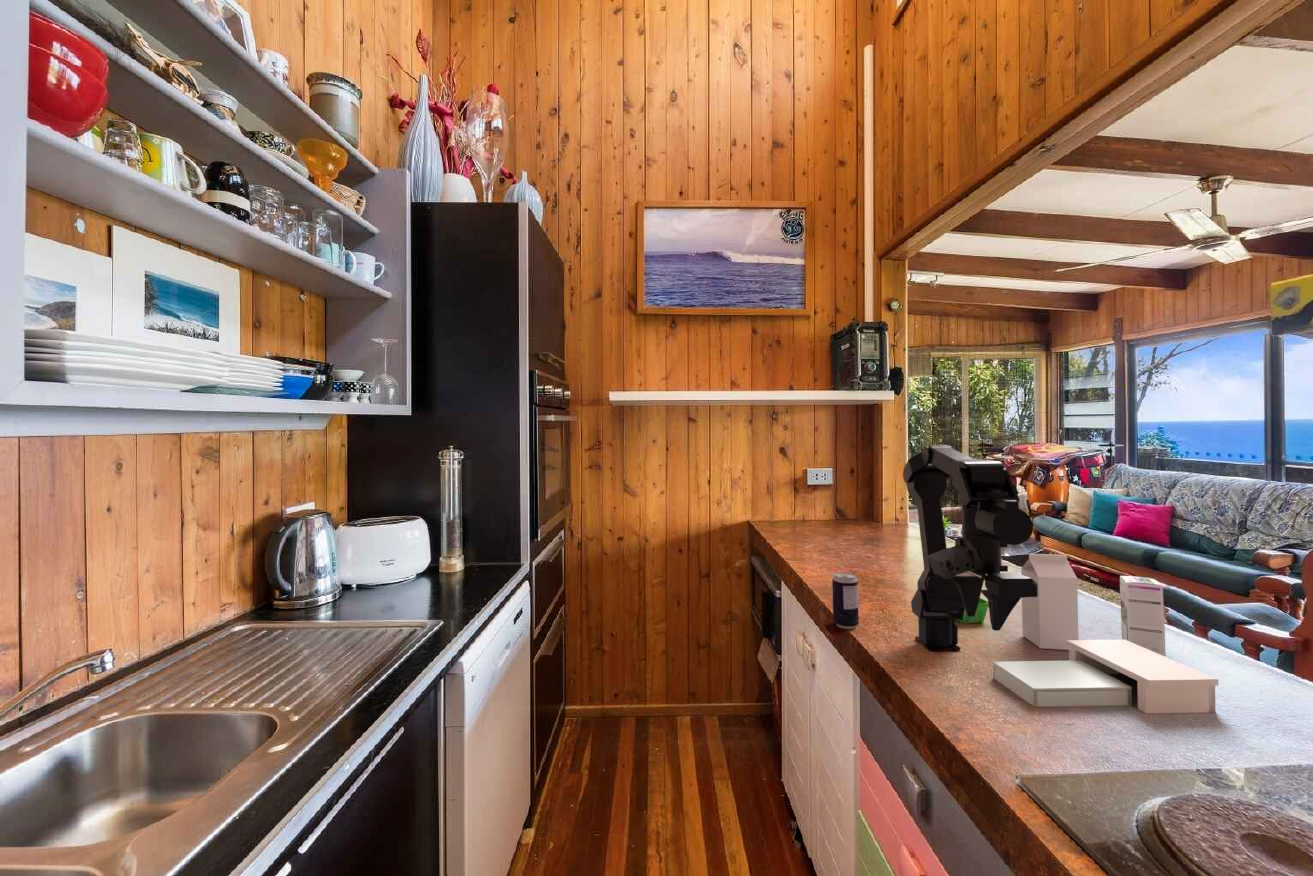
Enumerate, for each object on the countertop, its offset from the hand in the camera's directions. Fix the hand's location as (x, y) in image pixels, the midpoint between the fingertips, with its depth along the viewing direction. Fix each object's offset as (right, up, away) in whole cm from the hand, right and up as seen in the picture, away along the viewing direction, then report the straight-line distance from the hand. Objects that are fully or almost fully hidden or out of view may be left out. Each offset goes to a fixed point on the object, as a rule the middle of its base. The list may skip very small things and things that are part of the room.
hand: (982, 623), depth 88 cm
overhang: (+26, -12, 0) cm, 29 cm away
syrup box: (+43, -12, +16) cm, 47 cm away
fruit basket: (+18, -12, +37) cm, 43 cm away
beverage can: (-12, -13, +32) cm, 36 cm away
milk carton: (+27, -12, +20) cm, 36 cm away
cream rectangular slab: (+13, -12, 0) cm, 18 cm away
